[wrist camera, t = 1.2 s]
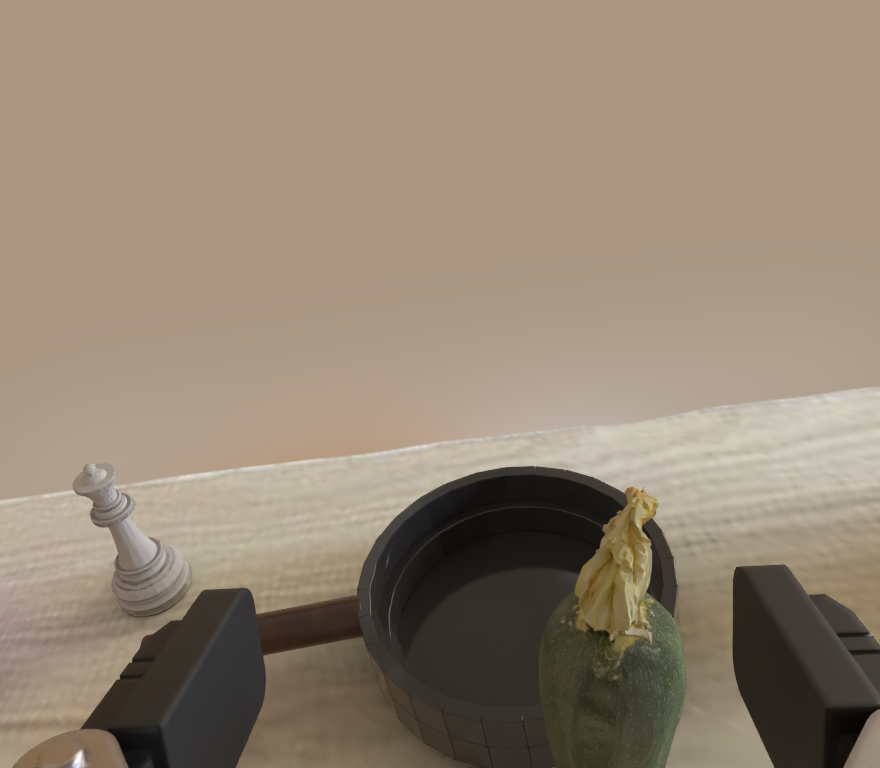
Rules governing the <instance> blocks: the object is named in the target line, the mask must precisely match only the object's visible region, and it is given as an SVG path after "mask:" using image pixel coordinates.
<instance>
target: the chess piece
mask: <svg viewBox="0 0 880 768" xmlns="http://www.w3.org/2000/svg"><path fill="white" fill-rule="evenodd" d="M117 474H118V473H117V469H116V468H115V467H114V466H113V465H111V464H107V463H102V464H98V465H93V464H87V465H85V467H84V469H83V472H81V473H80V474H79V475H78V476H77V477H76V478H75V480H74V482H73V489H74V491H75V493H76V494H78V495H80V496H85V497H87V498H90V499H91V500H92V501H93V508H92V510H91V513H90V518H91V520H92V522H93V523H94V524H95V525H96V526H98V527H103V528H104V527H109V529H110V531H111V533H112V536H113V538H114V541H115V544H116V547H117V550H118V555H117V557H116V559H115V563H114V564H115V569H116V570H115V572H114V575H113V580H112V590H113V592H114V594H115V595H116V597H117V601H118V602H119V604H120V605H121V607H122V608H123V610H124V611H125V612H127V613H129V614H130V615H134V616H149V615H153V614H157V613H159V612H162V611H164V610H166V609H168V608H169V607H171V606H172V605H173V604H175V603H176V602H177V601H178V600H179V599H180V598H181V597H182V596H183V595H184V594H185V592H186V591H187V589H188V588H189V585H190V583H191V578H192V573H191V569H190V566H189V564H188V562H187V561H186V560H185V559H184V557H183V555H182V553H181V552H180V551H179V549H178V548H176V547H174V546H171V545H169V544H163V543H161V542H160V541H159V540H157V539H155V538H151V537H146V536H145V535H144V534H143V533H142V532H141V530H140V529H139V528H138V527H137V525H136V524H135V523H134V521H133V520H132V518H131V517H130V514H131V513H132V512H133V510H134V506H135V504H134V500H133V498H132V497H131V496H130V495H129V494H127V493H120V492H119V491H117V490H115V480H116V478H117Z"/></svg>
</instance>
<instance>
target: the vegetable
mask: <svg viewBox="0 0 880 768" xmlns="http://www.w3.org/2000/svg"><path fill="white" fill-rule="evenodd" d="M625 494H626V496H627V502H628V505H627V506H626V507H625V508H624V509H623V511H618V512H617V514H618V515H617V516H615V517H613V518H611V519H610V521H609V523H608V524H604V526H603V529H602V530H603V532H604V533H605V534H606V535H605V536H604V537H603V538H602V540H601V544H600V549H598V550H596V554H595V555H594V557H593V558H591V559H590V560H589V561H588V562H587V563H586V564H585V565H584V566H583V567H582V569H581V572H580V575H579V578H578V580H577V583H576V587H575V590H574V591H572V592H571V593H570V594H569V595H567V596H566V597H565V598H564V599H563V600H562V601H561V602H560V603H559V604H558V606H557V607H556V608H555V610H554V611H553V613H552V614H551V616H550V618H549V620H548V623H547V626H546V628H545V630H544V633H543V636H542V640H541V644H540V650H539V687H540V696H541V702H542V708H543V713H544V720H545V726H546V732H547V737H548V741H549V744H550V748H551V751H552V755H553V761H554V766H555V768H665V765H666V761H667V757H668V754H669V751H670V747H671V744H672V740H673V736H674V732H675V730H676V727H677V725H678V722H679V720H680V716H681V713H682V709H683V705H684V700H685V694H686V673H685V658H684V651H683V644H682V638H681V633H680V631H679V629H678V626H677V624H676V622H675V621H674V619H673V617H672V615H671V614H670V613H669V612H668V611H667V610H666V609H665V608H664V607H663V606H662V605H661V604H660V603H659V602H658V601H657V600H656V599H655V598H653V597H652V596H651V595H649V594H648V593H647V592H646V590H647V588H648V586H649V582H650V576H651V571H652V550H651V548H650V546H651V543H650V542H651V540H650V539H648V538H647V536H646V535H645V533H644V532H643V531H642V525H643V524H644V523H646V522H647V521H648V520H650V519H651V518H653V517H654V516H655V514H656V508H657V506H658V503H657V500H656V499H654V498H653V497H651V496H648V495H646V493H645V489H644V487H643V490H642V491H639V490H638V489H636V488H634V487H631V488H627V490H626V491H625Z"/></svg>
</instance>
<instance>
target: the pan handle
mask: <svg viewBox="0 0 880 768" xmlns="http://www.w3.org/2000/svg"><path fill="white" fill-rule="evenodd" d="M360 609H361V598H360V596H357V595H354V596H349V597H344V598H339V599H334V600H328V601H323V602H318V603H313V604H308V605H302V606H297V607H292V608H287V609H282V610H276V611H271V612H266V613H261V614H256V617H257V623H258V629H259V635H260V641H261V647H262V653H263V656H264V655H269V654H274V653H279V652H284V651H290V650H295V649H300V648H305V647H311V646H316V645H321V644H326V643H332V642H337V641H342V640H347V639H353V638H358V637H363V636H362V633H361V629H360V626H359V623H358V618H357V613H358V611H359V610H360ZM151 635H153V634H151ZM151 635H147V636H145V637H144V638H143V639H142V642H141V645H140V648H141V646H142V645H143V644H144V642H145V641H146V640H147V638H149V637H150V636H151Z"/></svg>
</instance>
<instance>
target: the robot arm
mask: <svg viewBox="0 0 880 768" xmlns="http://www.w3.org/2000/svg"><path fill="white" fill-rule="evenodd" d="M733 664H734V671H735V676H736V681H737V685H738V688H739V691H740V694H741V696H742V698H743V700H744V703H745V705H746V707H747V709H748V711H749V713H750V716H751V718H752V720H753V722H754V724H755V726H756V729H757V731H758V733H759V735H760V737H761V739H762V742H763V744H764V746H765V748H766V750H767V752H768V755H769V757H770V759H771V761H772V763H773V765H774V768H880V645H879V644H878V642H877V641H876V640H875V639H874V637H873V636H870V634H869V631H868V630H867V629H866V627H865V626H864V625H863V624H862V622H861V621H860V620H859V619H858V617H857V616H856V615H855V614H854V612H853V611H851V610H850V609H848V608H846V607H845V606H843V605H842V604H840V603H838V602H837V601H835V600H833V599H832V598H830V597H829V596H827V595H825V594H819V595H808V594H807V593H806V592H805V590H804V589H803V587H802V586H801V585H800V583H799V582H798V580H797V579H796V578H795V576H794V575H793V574H792V572H791V571H790V569H789V568H788V567H787V566H786V565H764V566H742V567H736V569H735V571H734V577H733ZM265 683H266V675H265V665H264V659H263V653H262V647H261V641H260V635H259V629H258V623H257V617H256V611H255V605H254V600H253V596H252V594H251V592H250V590H249V589H247V588H237V589H215V590H204V591H202V592H201V593H200V595H199V596H198V597H197V599H196V600H195V602H194V603H193V605H192V606H191V608H190V609H189V610H188V612H187V613H186V615H185V616H184V618H183V619H182V620H176V621H171V622H169V623H168V624H167V625H165V626H164V627H162V628H161V629H160V630H158V631H157V632H156V633H154V634H153V635H151V636H150V637H149V638H147V640H146V641H145V642H144V644H143V645H142V646H141V648H140V649H139V650H138V652H137V653H136V654H135V656H134V657H133V659H132V663H129V664H128V665H127V667H126V668H125V669H124V671H123V672H122V673H121V675H120V680H116V682H115V683H114V684H113V686H112V687H111V688H110V690H109V691H108V692H107V694H106V695H105V696H104V698H103V699H102V701H101V702H100V703H99V705H98V706H97V707H96V709H95V710H94V711H93V713H92V714H91V715H90V717H89V718H88V720H87V721H86V722H85V724H84V725H83V726H82V728H81V729H80V730H75V731H71V732H67V733H64V734H61V735H58V736H55V737H53V738H51V739H49V740H47V741H45V742H43V743H41V744H39V745H37V746H36V747H34V748H33V749H31V750H30V751H28V752H27V753H26V754H25V755H24V756H22V757H21V758H20V759H19V760H18V761H17V762H16V763H15V764H14V766H13V767H12V768H236V765H237V763H238V761H239V758H240V756H241V754H242V751H243V749H244V747H245V744H246V742H247V740H248V738H249V735H250V733H251V731H252V728H253V726H254V724H255V721H256V719H257V717H258V714H259V712H260V710H261V707H262V704H263V700H264V694H265Z"/></svg>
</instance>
